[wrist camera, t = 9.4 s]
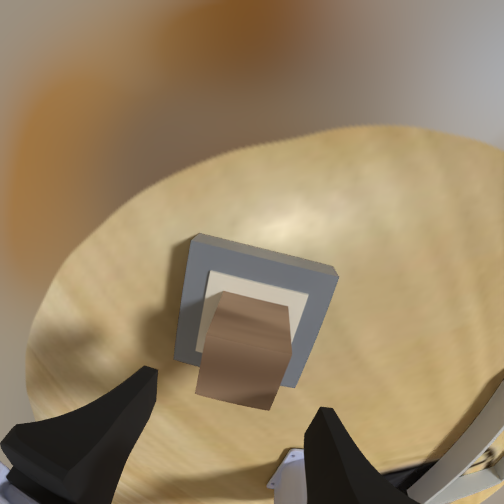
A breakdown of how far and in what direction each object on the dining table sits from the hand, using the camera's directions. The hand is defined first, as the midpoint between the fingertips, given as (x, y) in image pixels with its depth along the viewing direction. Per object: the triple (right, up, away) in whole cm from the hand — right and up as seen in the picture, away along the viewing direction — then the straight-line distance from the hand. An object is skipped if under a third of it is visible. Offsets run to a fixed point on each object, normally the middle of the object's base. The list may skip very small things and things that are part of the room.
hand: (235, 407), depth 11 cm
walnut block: (0, +2, +7) cm, 7 cm away
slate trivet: (+1, +3, +9) cm, 9 cm away
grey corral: (+39, -20, +13) cm, 45 cm away
